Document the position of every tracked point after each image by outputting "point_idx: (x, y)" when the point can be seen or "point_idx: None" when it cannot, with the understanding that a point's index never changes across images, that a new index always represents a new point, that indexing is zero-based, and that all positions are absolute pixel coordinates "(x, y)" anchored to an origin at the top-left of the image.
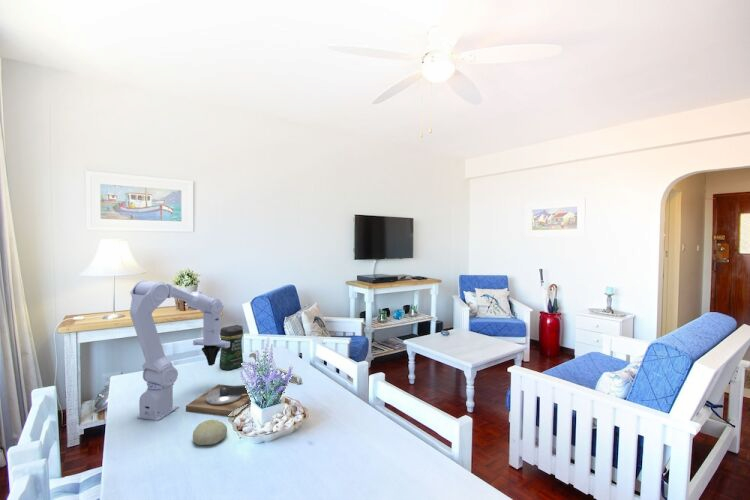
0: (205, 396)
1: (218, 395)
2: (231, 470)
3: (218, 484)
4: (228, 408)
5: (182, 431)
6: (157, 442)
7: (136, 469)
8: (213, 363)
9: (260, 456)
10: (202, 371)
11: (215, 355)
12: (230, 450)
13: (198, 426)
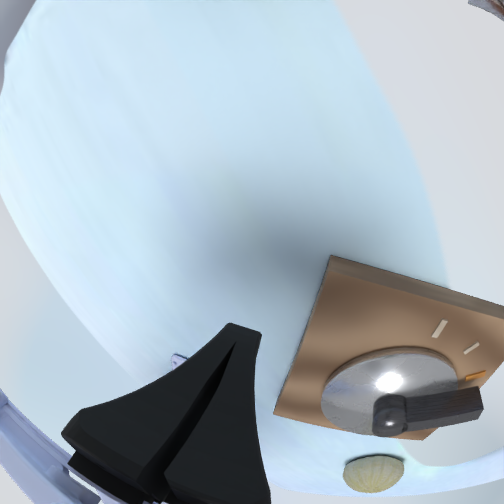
0: (312, 380)
1: (369, 408)
2: (408, 486)
3: (394, 493)
4: (407, 434)
5: (313, 449)
6: (283, 459)
7: (290, 480)
8: (256, 355)
9: (446, 474)
10: (121, 18)
11: (240, 402)
12: (409, 474)
13: (351, 487)
